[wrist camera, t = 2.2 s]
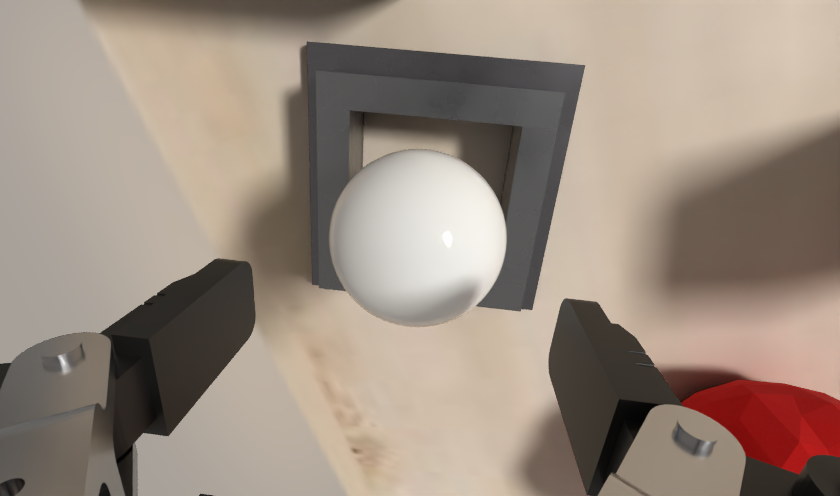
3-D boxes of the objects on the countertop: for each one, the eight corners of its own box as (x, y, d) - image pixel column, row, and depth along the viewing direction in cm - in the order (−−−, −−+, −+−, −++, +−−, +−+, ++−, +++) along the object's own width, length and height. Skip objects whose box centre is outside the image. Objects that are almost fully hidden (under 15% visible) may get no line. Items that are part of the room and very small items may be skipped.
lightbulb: (382, 245, 24) (325, 369, 14) (364, 132, 21) (279, 181, 11) (494, 236, 23) (521, 361, 13) (487, 118, 21) (514, 157, 11)
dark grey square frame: (311, 42, 20) (287, 36, 17) (581, 65, 19) (601, 63, 17) (315, 280, 25) (297, 304, 22) (530, 304, 24) (539, 333, 22)
